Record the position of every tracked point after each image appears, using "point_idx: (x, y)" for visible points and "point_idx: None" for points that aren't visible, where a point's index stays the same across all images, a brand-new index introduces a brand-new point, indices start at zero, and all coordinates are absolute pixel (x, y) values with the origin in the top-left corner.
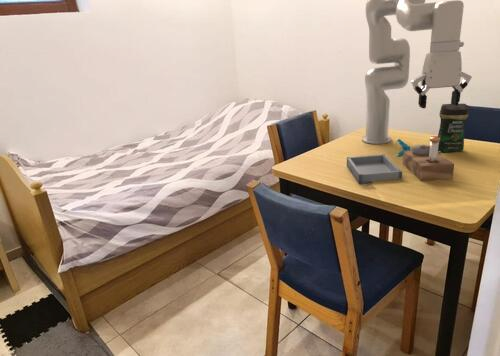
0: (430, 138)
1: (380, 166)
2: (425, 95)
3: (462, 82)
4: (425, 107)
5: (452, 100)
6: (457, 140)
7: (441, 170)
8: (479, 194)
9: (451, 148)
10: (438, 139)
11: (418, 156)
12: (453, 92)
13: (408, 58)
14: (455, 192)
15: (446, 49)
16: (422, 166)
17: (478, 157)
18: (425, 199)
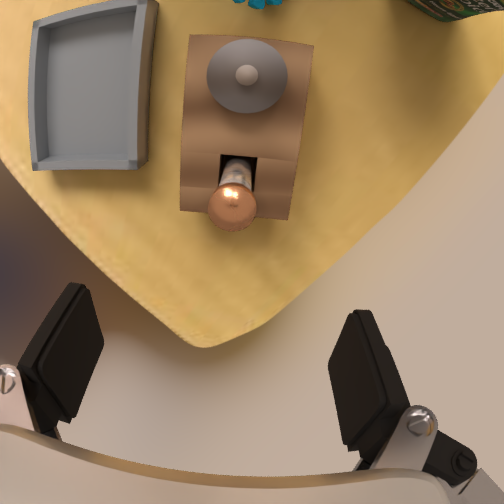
0: (208, 208)
1: (121, 52)
2: (63, 421)
3: (444, 487)
4: (101, 344)
5: (349, 351)
6: (452, 10)
7: None
8: (290, 276)
9: (423, 5)
10: (237, 229)
11: (213, 112)
12: (367, 414)
13: None
14: (248, 255)
15: None
16: (180, 210)
17: (458, 74)
18: (166, 269)
